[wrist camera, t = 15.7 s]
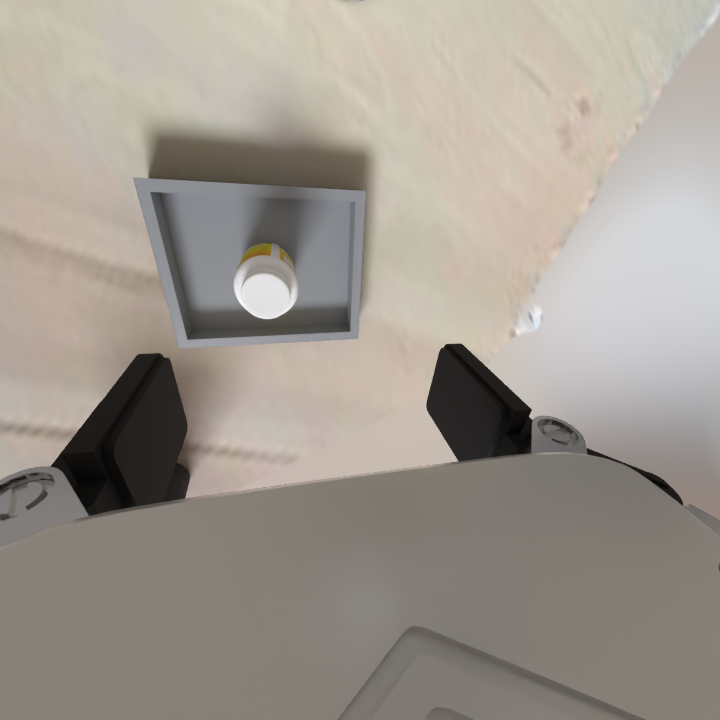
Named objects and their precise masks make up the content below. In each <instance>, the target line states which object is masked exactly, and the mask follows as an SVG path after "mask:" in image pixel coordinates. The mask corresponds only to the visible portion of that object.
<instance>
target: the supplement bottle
mask: <svg viewBox="0 0 720 720" xmlns="http://www.w3.org/2000/svg"><path fill="white" fill-rule="evenodd" d="M234 292H235V295H236V297H237V299H238V301H239V302H240V304H241V305H242V306H243V307H244V308H245V309H246V310H247V311H249V312H250V313H251V314H252V315H254V316H256V317H258V318H262V319H273V318H276V317H278V316H280V315H282V314H284V313H286V312H287V311H288V310H290V309H291V307H292V306H293V305H294V303H295V302H296V299H297V296H298V280H297V276H296V272H295V268H294V264H293V261H292V258H291V257H290V255H289V254H288V252H287V251H286V250H285V249H283V248H282V247H281V246H279V245H277V244H274V243H270V242H261V243H257V244H254V245H253V246H251V247H250V248H249V249H248V250H247V251H246V252H245V254H244V255H243V257H242V260H241V262H240V264H239V266H238V268H237V271H236V273H235V277H234Z"/></svg>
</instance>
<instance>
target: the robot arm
mask: <svg viewBox="0 0 720 720" xmlns="http://www.w3.org/2000/svg"><path fill="white" fill-rule="evenodd" d="M345 1H362V0H345ZM427 411H428V412H429V414H430V416H431V417H432V419H433V421H434V422H435V424H436V426H437V427H438V429H439V430H440V432H441V434H442V435H443V437H444V439H445V440H446V442H447V443H448V445H449V447H450V448H451V450H452V451H453V453H454V455H455V456H456V458H457V459H458V461H459V462H451V463H443V464H435V465H428V466H419V467H411V468H404V469H396V470H389V471H381V472H374V473H366V474H359V475H351V476H344V477H337V478H329V479H322V480H315V481H307V482H300V483H292V484H285V485H278V486H271V487H263V488H257V489H250V490H242V491H235V492H227V493H220V494H213V495H206V496H200V497H193V498H186V499H179V500H172V501H166V502H163V499H164V496H165V493H166V491H167V488H168V485H169V482H170V479H171V476H172V473H173V471H174V468H175V465H176V462H177V459H178V456H179V454H180V451H181V448H182V445H183V442H184V439H185V436H186V434H187V420H186V417H185V413H184V409H183V405H182V402H181V398H180V394H179V391H178V387H177V383H176V380H175V376H174V372H173V369H172V365H171V361H170V359H169V358H164V357H163V356H162V354H160V353H156V354H138V355H137V356H136V357H135V359H134V360H133V361H132V363H131V364H130V365H129V366H128V368H127V369H126V370H125V372H124V373H123V374H122V376H121V377H120V378H119V379H118V381H117V382H116V383H115V385H114V386H113V387H112V389H111V390H110V391H109V392H108V394H107V395H106V396H105V398H104V399H103V400H102V401H101V402H100V403H99V405H98V406H97V407H96V408H95V410H94V411H93V412H92V414H91V415H90V416H89V418H88V419H87V420H86V421H85V423H84V424H83V425H82V427H81V428H80V429H79V430H78V432H77V433H76V434H75V436H74V437H73V438H72V440H71V441H70V442H69V443H68V445H67V446H66V447H65V449H64V450H63V451H62V452H61V454H60V455H59V456H58V458H57V459H56V460H55V462H54V463H53V464H52V465H51V467H49V466H47V467H35V468H30V469H26V470H22V471H20V472H17V473H14V474H12V475H9V476H7V477H5V478H3V479H1V480H0V720H720V520H719V519H717V518H715V517H713V516H712V515H710V514H708V513H706V512H704V511H702V510H701V509H699V508H697V507H695V506H693V505H692V504H688V505H687V506H686V507H685V506H683V502H682V500H681V498H680V497H679V495H678V494H677V493H676V492H675V491H674V489H673V488H671V487H670V486H669V485H668V484H667V483H666V482H665V481H664V480H663V479H661V478H660V477H658V476H656V475H654V474H652V473H649V472H646V471H643V470H641V469H638V468H636V467H633V466H631V465H628V464H626V463H623V462H621V461H618V460H616V459H613V458H610V457H608V456H605V455H603V454H600V453H598V452H595V451H593V450H590V449H588V448H586V444H585V440H584V438H583V436H582V435H581V433H580V432H579V431H578V430H577V429H575V428H574V427H573V426H572V425H570V424H568V423H566V422H565V421H563V420H560V419H558V418H554V417H550V416H538V417H536V418H534V419H533V420H532V419H531V418H530V417H529V415H530V413H531V408H529V407H528V406H527V405H526V404H525V403H524V402H523V401H522V400H521V399H520V398H519V397H518V396H517V395H516V394H515V393H514V392H512V391H511V390H510V389H509V388H508V387H507V386H506V385H505V384H504V383H503V382H502V381H501V380H500V379H499V378H498V377H497V376H495V375H494V374H493V373H492V372H491V371H490V370H489V369H488V368H487V367H486V366H485V365H484V364H483V363H482V362H481V361H480V360H478V359H477V358H476V357H475V356H474V355H473V354H472V353H471V352H470V351H469V350H468V349H467V348H466V347H465V346H464V345H462V344H446V345H445V346H444V348H441V350H440V352H439V356H438V360H437V363H436V367H435V371H434V375H433V379H432V383H431V387H430V391H429V395H428V399H427Z"/></svg>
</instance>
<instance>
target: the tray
mask: <svg viewBox="0 0 720 720" xmlns="http://www.w3.org/2000/svg"><path fill="white" fill-rule="evenodd" d="M133 179H134V183H135V187H136V190H137V194H138V198H139V201H140V205H141V209H142V213H143V216H144V220H145V224H146V227H147V231H148V235H149V238H150V242H151V246H152V250H153V253H154V257H155V261H156V264H157V268H158V272H159V275H160V279H161V283H162V287H163V290H164V294H165V298H166V301H167V305H168V309H169V312H170V316H171V320H172V323H173V327H174V331H175V335H176V338H177V342H178V346H179V349H181V348H200V347H218V346H236V345H254V344H273V343H291V342H309V341H327V340H345V339H358V331H359V312H360V293H361V275H362V256H363V237H364V219H365V200H366V191H360V190H344V189H326V188H309V187H292V186H275V185H257V184H240V183H223V182H206V181H188V180H171V179H154V178H133ZM261 242H270V243H274V244H277V245H279V246H281V247H282V248H283V249H285V250H286V251H287V252H288V254H289V255H290V257H291V258H292V261H293V264H294V268H295V272H296V276H297V280H298V296H297V299H296V302H295V303H294V305H293V306H292V307H291V309H290V310H288V311H287V312H286V313H284V314H282V315H280V316H278V317H276V318H273V319H262V318H258V317H256V316H254V315H252V314H251V313H250V312H249V311H247V310H246V309H245V308H244V307H243V306H242V305H241V304H240V302H239V301H238V299H237V297H236V295H235V292H234V277H235V273H236V271H237V268H238V266H239V264H240V262H241V260H242V257H243V255H244V254H245V252H246V251H247V250H248V249H249V248H250V247H251V246H253V245H254V244H257V243H261Z"/></svg>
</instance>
